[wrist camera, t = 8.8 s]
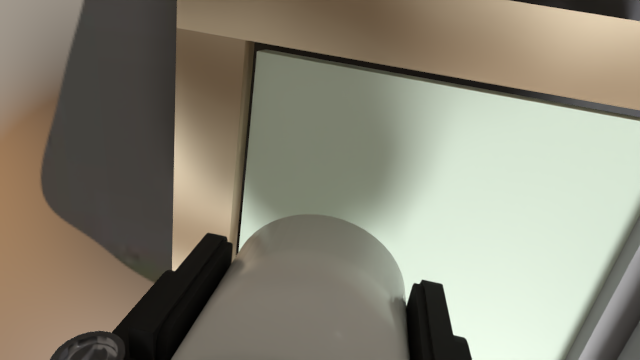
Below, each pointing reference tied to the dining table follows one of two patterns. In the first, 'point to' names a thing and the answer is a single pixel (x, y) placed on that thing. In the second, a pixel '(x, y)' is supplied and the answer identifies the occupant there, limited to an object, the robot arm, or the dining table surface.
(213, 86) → the trapdoor frame
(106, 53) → the dining table surface
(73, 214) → the dining table surface
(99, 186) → the dining table surface
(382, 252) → the stone
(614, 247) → the trapdoor
